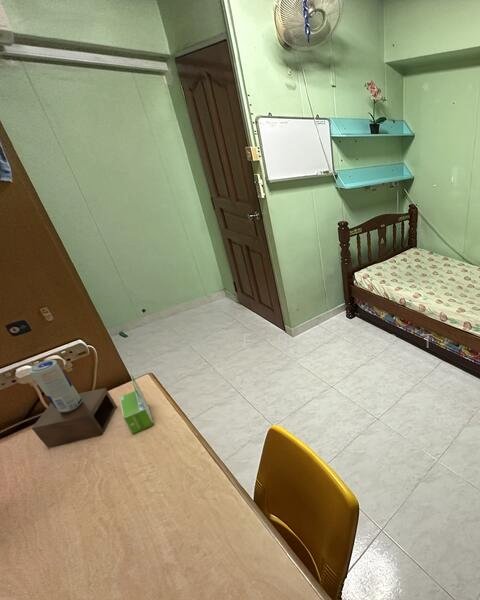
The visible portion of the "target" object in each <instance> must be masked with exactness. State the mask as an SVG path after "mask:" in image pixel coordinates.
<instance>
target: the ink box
mask: <svg viewBox="0 0 480 600" xmlns="http://www.w3.org/2000/svg"><path fill="white" fill-rule="evenodd" d="M129 374H130V378H131V382H132V385H133V389H134V391H132V392H129V393H127V394H123V395H121V396H119V402H120V403H119V404H120V408H121V414H122V419H123V420H124V422H125V424H126V425H127V427H128V429H129V431H130V433H131V434H132V435H134V434H136V433H138V432H141V431H143V430H145V429H147V428H150V427H151V426H154V421H153V416H152V413H151V409H150V405H149V403H148V401H147V399H146V397H145V396H144V393H143V391H142V389H141V387H140V386H139V383H138V382H137V381H136V379H135V378H134V376H133V374H132V373H131V372H129Z"/></svg>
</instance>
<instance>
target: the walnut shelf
mask: <svg viewBox="0 0 480 600" xmlns="http://www.w3.org/2000/svg"><path fill="white" fill-rule="evenodd" d="M77 393H78V392H77ZM78 394H79V396H80V397H81V399H82V402H81V404H80V405H79V406H78V407H77V408H76V409H74V410H72V411H69V412H59V411H57V409H56V408H55V407H54V405H53V404H52V403H51V402H50V403H49V405H48V406H47V408H46V409H45V410H44V411H43V413H42V414H41V415H40V417H39V418H38V420H36V422H35V423H34V424H33V426H32V427H31V430H32V431H33V432H34V433H35V435H36V436H37V437H38V438H39V439H40V440H41V442H42V443H43V445H44V446H45V447H46V448H47V449H49V448H54V447H58V446H62V445H67V444H71V443H75V442H78V441H83V440H87V439H91V438H95V437H99V436H103V434H104V432H105V431H106V429H107V427H108V425H109V423H110V421H111V420H112V417H113V415H114V414H115V411H116V409H117V407H118V405H117V404H116V402H115V400H114V399H113V398H112V396H111V394H110V393H109V390H108V389H107V387H103V388H98V389H93V390H88V391H84V392H79V393H78Z"/></svg>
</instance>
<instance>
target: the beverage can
mask: <svg viewBox="0 0 480 600" xmlns="http://www.w3.org/2000/svg"><path fill="white" fill-rule="evenodd" d="M28 373H29V374H30V376H31V377H32V378H33V379H34V381H35V382H36V384H37V385H38V386H39V388H40V389H41V391H42V392H43V393H44V395H45V396H46V397H47V399H48V400H49V401H50V404H51V403H52V404H53V405H54V407H55V408H56V409H57V411H59V412H69V411H72V410H74V409H76V408H77V407H78V406H79V405H80V404H81V402H82V399H81V397H80V396H79V394H78V391H77V389H76V388H75V387H74V385H73V383H72V382H71V381H70V379H69V377H68V376H67V375H66V373H65V371H64V370H63V368H62V367H61V365H60V364H59V363H58V361H57V360H55V359H46V360H43V361H41V362H38V363H36V364H34V365H32V366H31V367H30V368H29V369H28Z"/></svg>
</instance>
